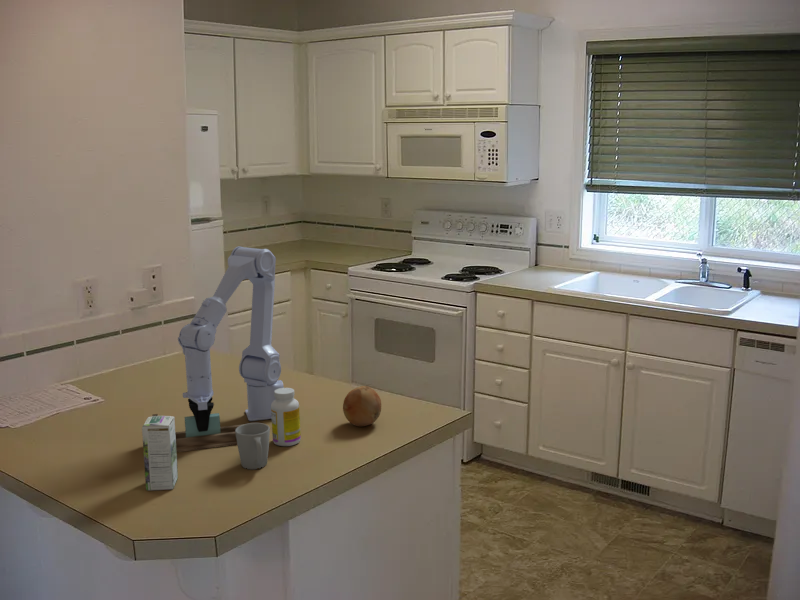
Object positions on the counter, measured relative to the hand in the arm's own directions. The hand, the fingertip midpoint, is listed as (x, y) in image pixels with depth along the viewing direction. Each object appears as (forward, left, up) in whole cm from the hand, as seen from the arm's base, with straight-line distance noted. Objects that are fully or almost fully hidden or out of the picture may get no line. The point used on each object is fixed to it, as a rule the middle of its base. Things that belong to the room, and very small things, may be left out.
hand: (202, 428), depth 200 cm
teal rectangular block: (0, 0, -3) cm, 3 cm away
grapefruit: (-39, +1, -4) cm, 39 cm away
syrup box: (+10, +21, -4) cm, 24 cm away
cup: (-10, +18, -4) cm, 21 cm away
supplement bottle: (-19, +6, -4) cm, 20 cm away
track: (0, 0, -3) cm, 3 cm away
